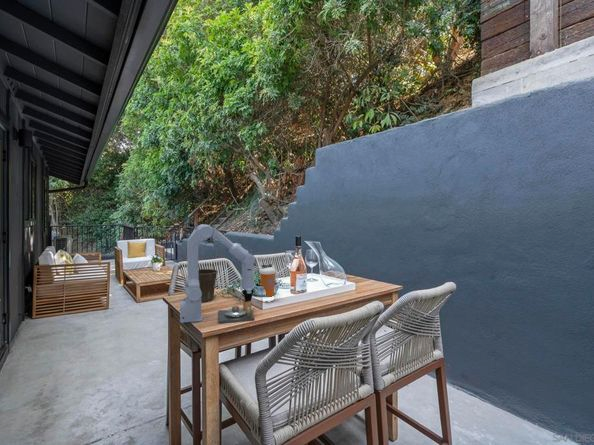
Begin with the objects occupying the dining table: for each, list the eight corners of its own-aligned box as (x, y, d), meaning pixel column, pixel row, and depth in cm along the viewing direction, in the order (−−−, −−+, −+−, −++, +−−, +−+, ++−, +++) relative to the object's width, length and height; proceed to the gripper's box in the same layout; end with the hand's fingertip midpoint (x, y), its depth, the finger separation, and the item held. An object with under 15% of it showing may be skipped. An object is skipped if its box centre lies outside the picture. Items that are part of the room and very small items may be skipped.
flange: (232, 318, 145) (232, 308, 145) (220, 313, 152) (220, 304, 152) (256, 311, 155) (256, 302, 154) (244, 307, 162) (244, 298, 162)
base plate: (218, 323, 143) (218, 321, 143) (218, 312, 158) (217, 310, 158) (254, 320, 147) (254, 318, 146) (250, 310, 162) (250, 307, 162)
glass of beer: (256, 300, 180) (256, 264, 179) (269, 297, 186) (269, 263, 185) (265, 304, 173) (265, 266, 172) (279, 301, 179) (278, 265, 178)
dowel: (246, 317, 148) (246, 307, 148) (246, 316, 149) (246, 306, 149) (250, 316, 148) (250, 307, 148) (250, 315, 150) (250, 306, 150)
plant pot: (217, 295, 192) (217, 268, 192) (218, 302, 177) (217, 273, 176) (188, 297, 188) (188, 269, 188) (186, 304, 172) (186, 274, 172)
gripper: (257, 279, 154) (257, 308, 154) (254, 274, 168) (254, 300, 168) (242, 280, 152) (242, 309, 152) (240, 274, 166) (240, 301, 166)
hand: (247, 304), depth 160 cm, fingers closed
